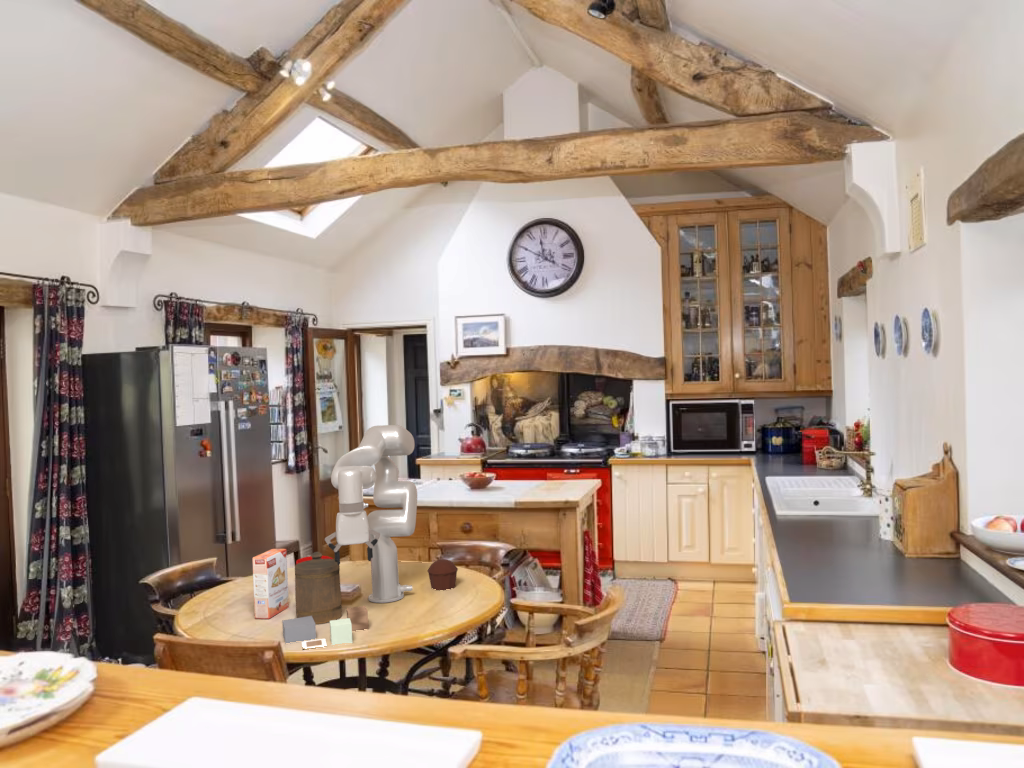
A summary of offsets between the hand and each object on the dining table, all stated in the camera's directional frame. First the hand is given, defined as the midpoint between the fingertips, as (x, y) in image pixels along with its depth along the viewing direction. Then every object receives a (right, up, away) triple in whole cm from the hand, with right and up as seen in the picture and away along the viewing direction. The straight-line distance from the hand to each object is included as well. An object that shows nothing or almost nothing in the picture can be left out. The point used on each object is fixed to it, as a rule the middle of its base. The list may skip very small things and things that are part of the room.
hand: (354, 562), depth 250 cm
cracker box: (-32, -23, +22) cm, 45 cm away
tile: (-9, -22, -13) cm, 27 cm away
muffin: (+25, -20, +44) cm, 54 cm away
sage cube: (-1, -22, -11) cm, 24 cm away
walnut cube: (+1, -21, +1) cm, 21 cm away
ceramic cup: (-26, -22, +59) cm, 68 cm away
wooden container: (-14, -22, +14) cm, 30 cm away
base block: (-16, -22, -5) cm, 28 cm away
